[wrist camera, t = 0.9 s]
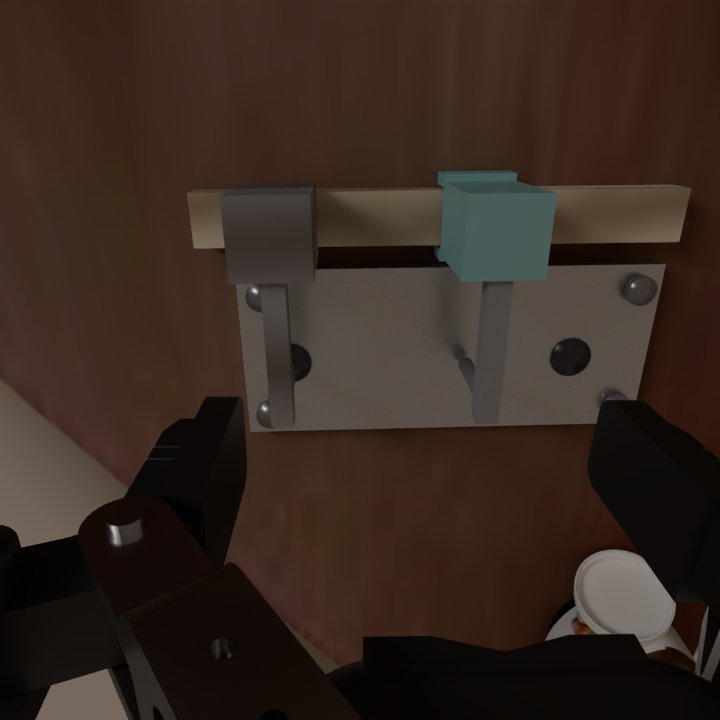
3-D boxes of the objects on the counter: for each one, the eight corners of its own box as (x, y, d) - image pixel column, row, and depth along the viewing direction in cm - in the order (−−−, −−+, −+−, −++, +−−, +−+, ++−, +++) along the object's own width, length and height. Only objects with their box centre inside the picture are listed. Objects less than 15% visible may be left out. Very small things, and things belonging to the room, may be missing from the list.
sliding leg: (438, 171, 31) (468, 184, 24) (506, 170, 31) (558, 183, 24) (428, 367, 36) (451, 428, 29) (488, 366, 36) (526, 427, 29)
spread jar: (567, 669, 49) (632, 822, 38) (498, 599, 45) (548, 747, 34) (688, 603, 46) (795, 748, 35) (625, 523, 42) (722, 657, 32)
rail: (194, 180, 31) (150, 196, 24) (673, 175, 32) (773, 190, 25) (217, 370, 36) (186, 433, 28) (633, 362, 37) (707, 420, 29)
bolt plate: (238, 265, 33) (232, 273, 31) (655, 259, 34) (672, 267, 32) (253, 422, 37) (249, 437, 36) (622, 414, 38) (636, 427, 37)
